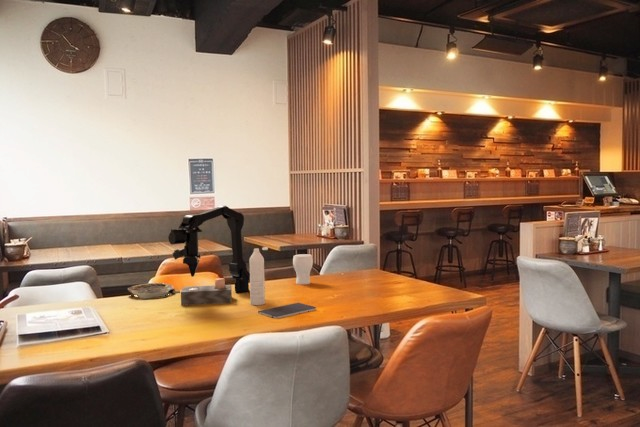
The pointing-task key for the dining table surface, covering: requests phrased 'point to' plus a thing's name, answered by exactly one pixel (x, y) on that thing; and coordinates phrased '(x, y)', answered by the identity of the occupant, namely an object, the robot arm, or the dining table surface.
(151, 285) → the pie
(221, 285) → the terracotta peg
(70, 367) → the dining table surface
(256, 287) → the water bottle
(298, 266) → the cup
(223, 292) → the block
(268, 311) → the notebook
